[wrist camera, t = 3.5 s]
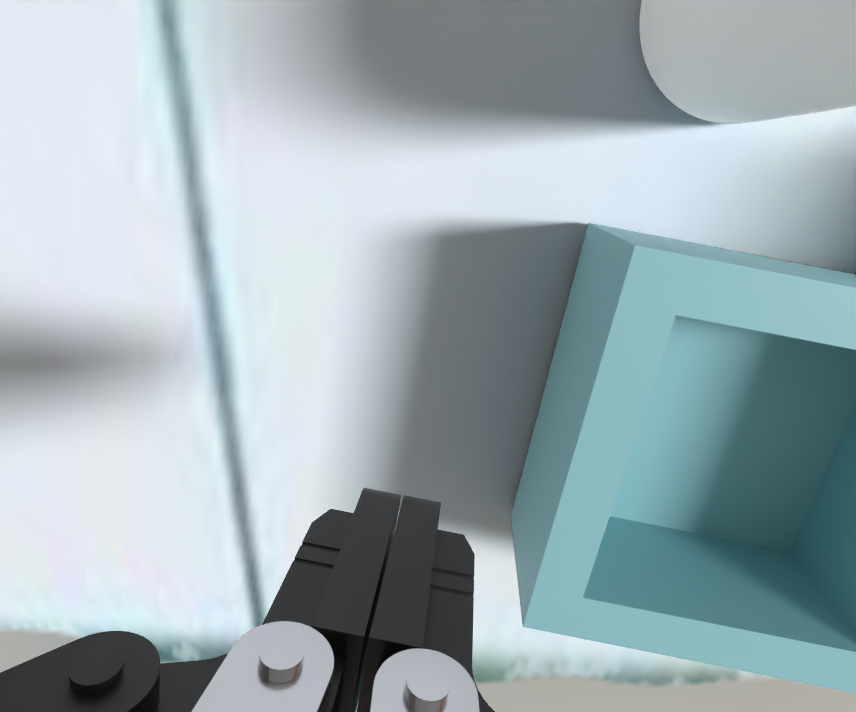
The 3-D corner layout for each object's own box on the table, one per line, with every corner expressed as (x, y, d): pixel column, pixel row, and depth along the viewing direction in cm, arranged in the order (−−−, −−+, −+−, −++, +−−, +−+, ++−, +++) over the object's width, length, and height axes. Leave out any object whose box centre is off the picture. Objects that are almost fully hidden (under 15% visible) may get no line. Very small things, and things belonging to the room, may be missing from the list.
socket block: (510, 516, 24) (523, 626, 18) (588, 223, 20) (635, 245, 14) (799, 573, 24) (903, 702, 18) (933, 289, 20) (1119, 338, 14)
